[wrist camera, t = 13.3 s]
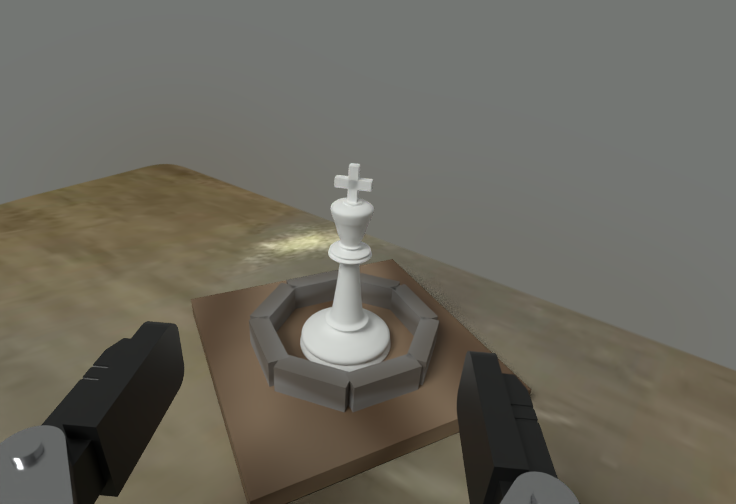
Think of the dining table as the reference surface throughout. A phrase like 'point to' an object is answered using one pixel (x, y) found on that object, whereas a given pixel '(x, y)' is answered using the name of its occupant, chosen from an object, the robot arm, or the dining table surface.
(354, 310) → the chess piece
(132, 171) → the dining table surface
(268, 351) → the board
